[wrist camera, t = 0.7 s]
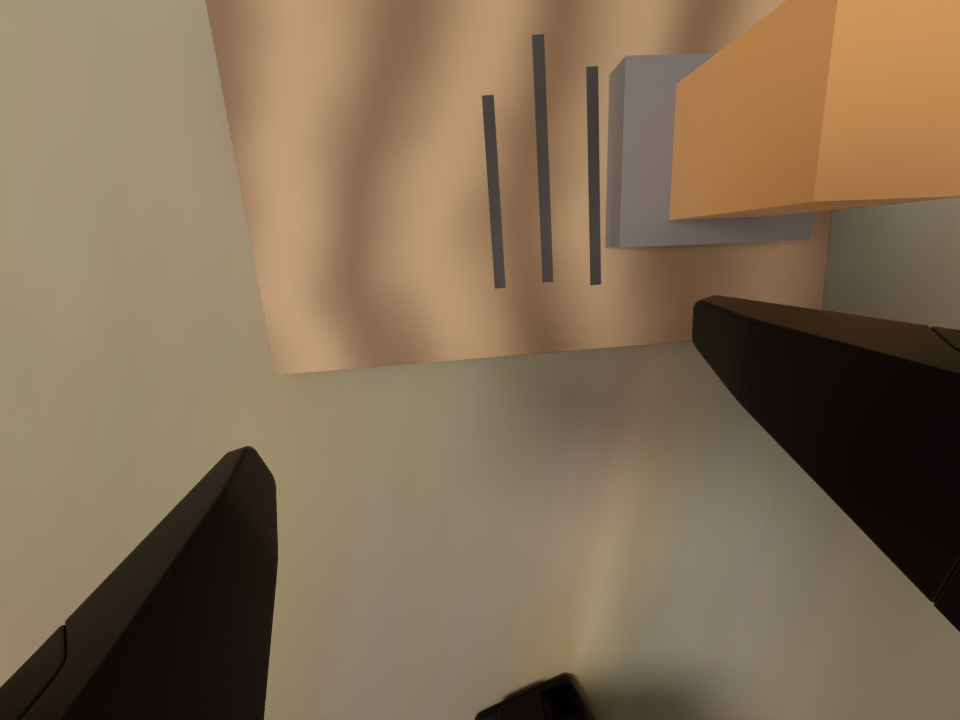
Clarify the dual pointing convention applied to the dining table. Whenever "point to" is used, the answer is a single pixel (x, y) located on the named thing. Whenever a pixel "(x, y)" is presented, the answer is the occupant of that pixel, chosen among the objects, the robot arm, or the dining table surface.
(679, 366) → the dining table surface
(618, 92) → the sanding block
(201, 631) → the robot arm
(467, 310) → the board
